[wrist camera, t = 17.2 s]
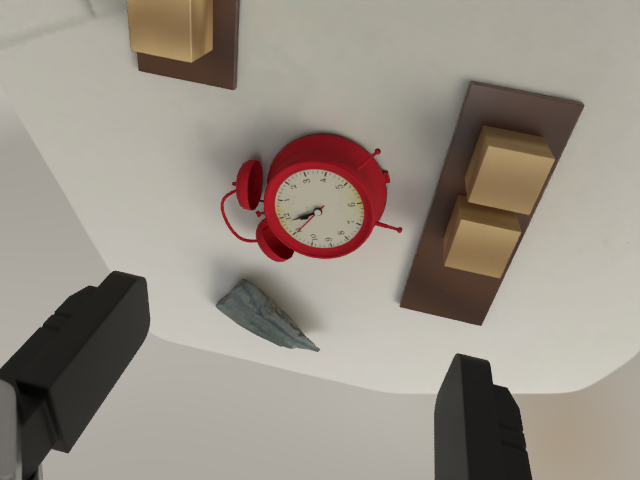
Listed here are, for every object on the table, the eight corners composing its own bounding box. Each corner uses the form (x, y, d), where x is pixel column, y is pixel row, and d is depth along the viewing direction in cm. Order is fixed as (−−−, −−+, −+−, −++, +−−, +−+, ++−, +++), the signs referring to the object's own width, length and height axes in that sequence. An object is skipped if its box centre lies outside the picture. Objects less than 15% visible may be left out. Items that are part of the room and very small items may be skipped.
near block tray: (470, 80, 35) (475, 100, 31) (582, 102, 34) (601, 125, 30) (399, 303, 47) (397, 336, 44) (480, 322, 47) (485, 357, 43)
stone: (292, 350, 56) (342, 329, 48) (275, 378, 53) (324, 360, 46) (223, 290, 54) (263, 258, 46) (202, 316, 51) (241, 287, 44)
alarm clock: (411, 249, 39) (242, 299, 41) (398, 214, 45) (249, 260, 47) (378, 131, 34) (187, 195, 36) (368, 108, 40) (202, 165, 42)
